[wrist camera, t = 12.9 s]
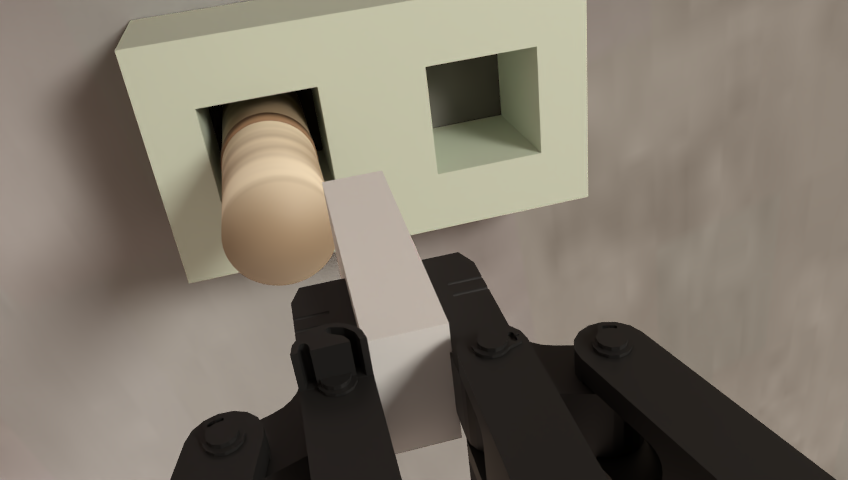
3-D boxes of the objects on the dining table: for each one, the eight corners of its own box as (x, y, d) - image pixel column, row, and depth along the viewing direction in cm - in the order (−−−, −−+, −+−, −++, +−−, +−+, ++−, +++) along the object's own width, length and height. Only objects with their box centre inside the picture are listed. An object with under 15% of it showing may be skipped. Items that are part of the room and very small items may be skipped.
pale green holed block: (130, 20, 35) (114, 50, 30) (536, -46, 38) (585, -30, 33) (193, 227, 40) (189, 283, 35) (544, 154, 43) (588, 196, 38)
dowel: (212, 82, 37) (205, 195, 25) (294, 66, 37) (327, 170, 25) (232, 158, 39) (236, 297, 27) (310, 142, 39) (348, 272, 27)
